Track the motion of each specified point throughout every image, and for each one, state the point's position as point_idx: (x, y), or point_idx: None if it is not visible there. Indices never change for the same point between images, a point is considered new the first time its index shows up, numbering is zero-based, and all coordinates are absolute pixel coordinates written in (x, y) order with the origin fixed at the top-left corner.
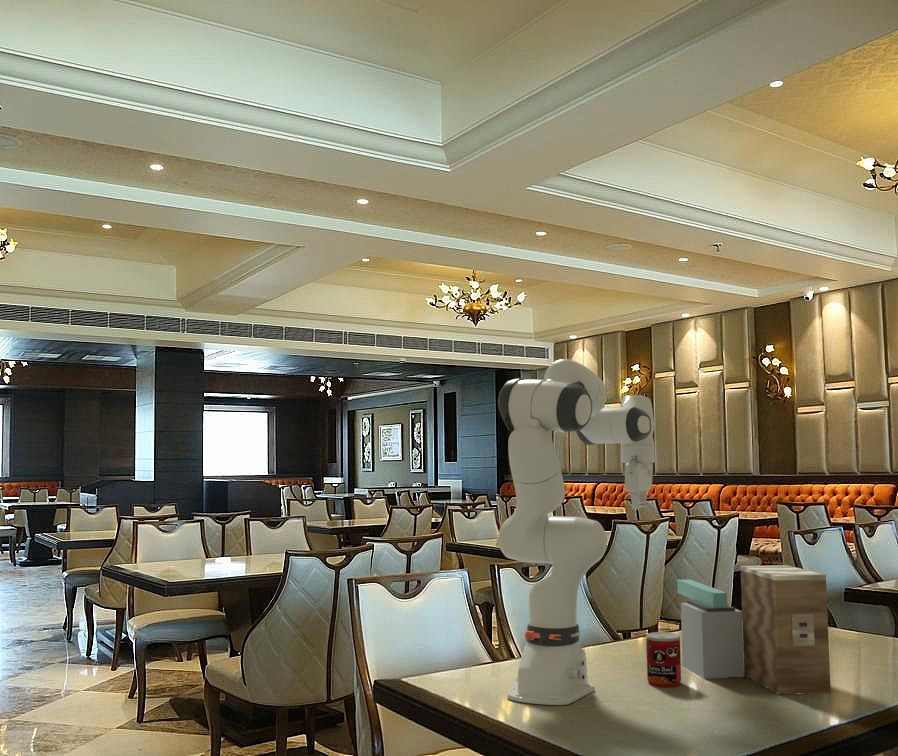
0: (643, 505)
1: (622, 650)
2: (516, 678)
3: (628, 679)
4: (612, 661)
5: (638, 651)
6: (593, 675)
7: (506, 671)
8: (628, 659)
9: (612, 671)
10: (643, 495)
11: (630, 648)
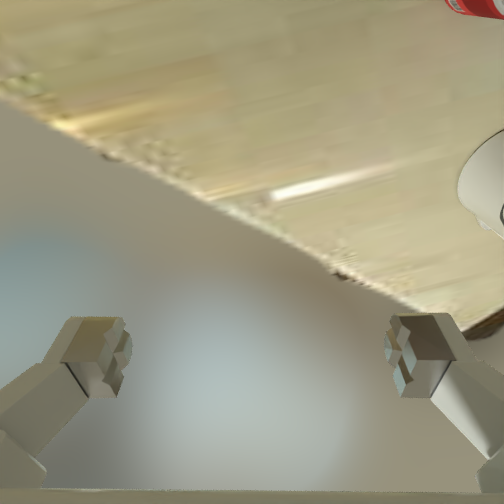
0: (116, 334)
1: (196, 134)
2: (488, 228)
3: (446, 61)
4: (299, 129)
5: (189, 101)
6: (419, 134)
7: (408, 255)
8: (271, 103)
9: (382, 109)
10: (14, 431)
11: (170, 123)
